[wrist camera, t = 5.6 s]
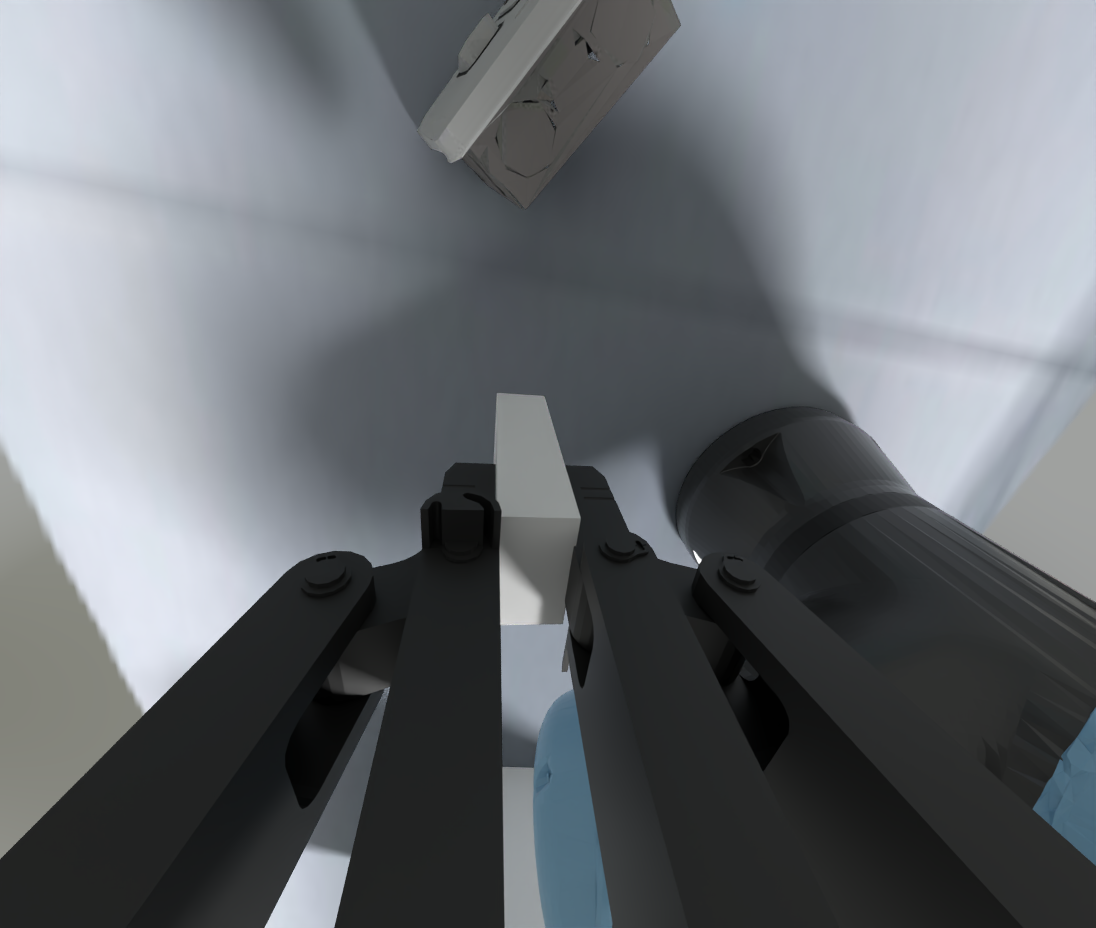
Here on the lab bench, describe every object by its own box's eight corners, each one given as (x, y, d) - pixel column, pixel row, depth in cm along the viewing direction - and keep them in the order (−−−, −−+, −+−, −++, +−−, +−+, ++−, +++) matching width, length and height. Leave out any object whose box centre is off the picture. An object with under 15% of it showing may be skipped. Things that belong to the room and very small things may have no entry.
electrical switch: (551, -59, 18) (620, -257, 10) (624, 63, 20) (724, -20, 13) (415, 132, 20) (386, 92, 13) (495, 220, 23) (511, 231, 15)
